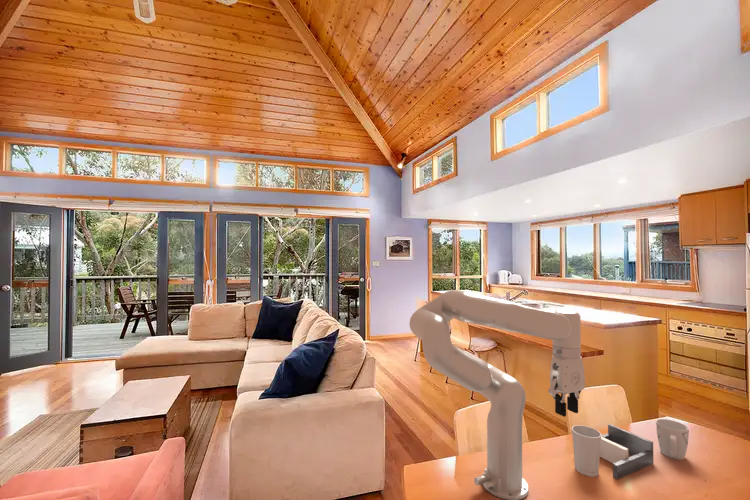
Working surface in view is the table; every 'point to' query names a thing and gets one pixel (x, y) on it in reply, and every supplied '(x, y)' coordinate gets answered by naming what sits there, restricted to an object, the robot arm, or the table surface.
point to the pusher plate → (612, 451)
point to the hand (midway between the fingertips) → (566, 412)
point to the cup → (586, 449)
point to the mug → (672, 438)
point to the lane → (630, 451)
